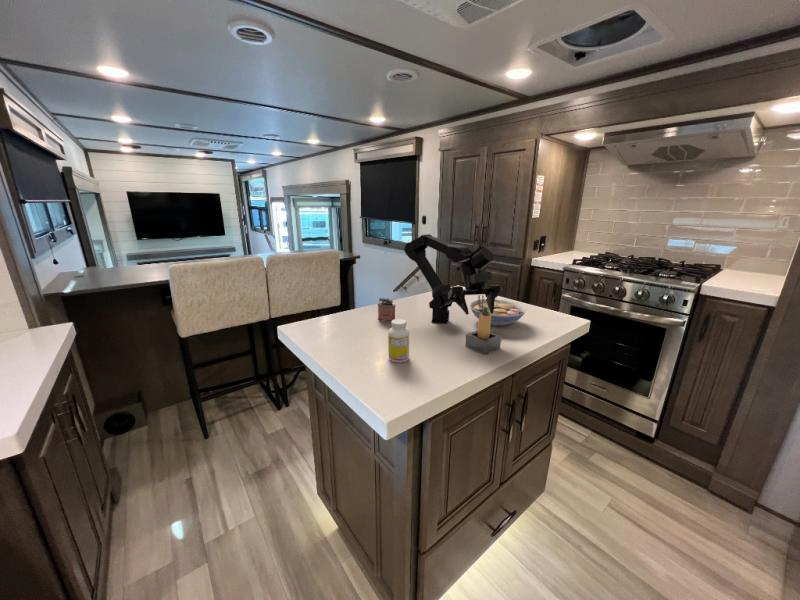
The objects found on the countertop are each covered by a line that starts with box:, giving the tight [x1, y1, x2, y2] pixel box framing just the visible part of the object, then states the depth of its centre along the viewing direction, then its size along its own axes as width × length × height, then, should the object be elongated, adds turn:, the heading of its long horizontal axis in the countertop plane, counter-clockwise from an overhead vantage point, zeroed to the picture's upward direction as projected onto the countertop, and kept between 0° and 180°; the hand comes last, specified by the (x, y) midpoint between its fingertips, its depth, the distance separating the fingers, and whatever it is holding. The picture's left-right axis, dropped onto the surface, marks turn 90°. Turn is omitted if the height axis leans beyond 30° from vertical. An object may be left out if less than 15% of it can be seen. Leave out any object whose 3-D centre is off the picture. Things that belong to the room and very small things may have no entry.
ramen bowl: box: [468, 294, 527, 327], centre depth 131 cm, size 25×23×8 cm
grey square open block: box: [465, 329, 502, 356], centre depth 109 cm, size 8×8×4 cm
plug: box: [477, 307, 492, 340], centre depth 107 cm, size 4×4×15 cm
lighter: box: [377, 297, 396, 324], centre depth 132 cm, size 8×3×10 cm, turn 65°
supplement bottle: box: [387, 318, 410, 364], centre depth 99 cm, size 7×7×13 cm
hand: (480, 313), depth 109 cm, fingers open, 9 cm apart
